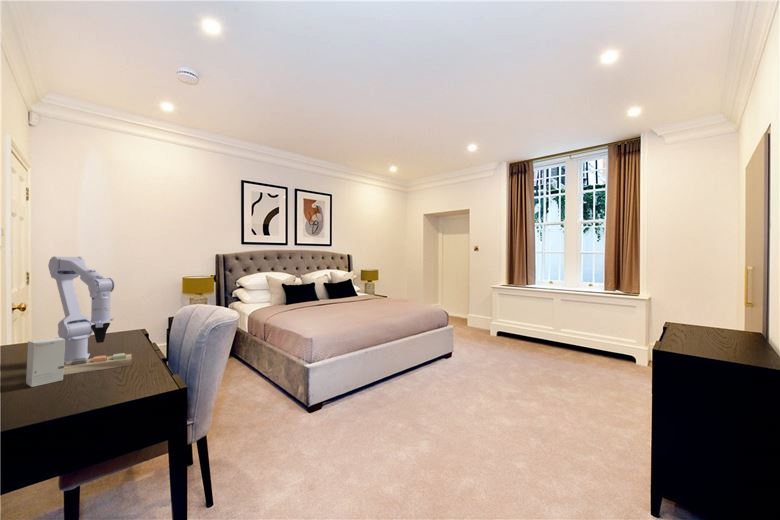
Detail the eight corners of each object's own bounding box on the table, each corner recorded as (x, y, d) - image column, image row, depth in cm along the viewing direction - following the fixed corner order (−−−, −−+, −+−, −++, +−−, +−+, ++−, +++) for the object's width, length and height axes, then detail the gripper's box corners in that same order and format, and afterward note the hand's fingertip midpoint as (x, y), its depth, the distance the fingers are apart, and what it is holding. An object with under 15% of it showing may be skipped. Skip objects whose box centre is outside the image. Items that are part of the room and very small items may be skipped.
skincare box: (31, 387, 110) (31, 343, 110) (25, 383, 113) (26, 340, 113) (65, 380, 117) (65, 338, 117) (58, 376, 120) (59, 335, 120)
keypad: (66, 368, 129) (66, 361, 129) (131, 359, 141) (131, 353, 141) (62, 375, 122) (62, 368, 122) (131, 365, 134) (131, 359, 134)
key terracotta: (93, 362, 132) (94, 356, 131) (105, 360, 134) (105, 355, 134) (92, 364, 129) (93, 359, 129) (105, 363, 131) (105, 357, 131)
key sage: (113, 359, 135) (113, 354, 135) (124, 358, 137) (124, 352, 137) (112, 362, 132) (113, 356, 132) (124, 360, 135) (124, 355, 135)
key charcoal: (73, 364, 128) (73, 359, 128) (85, 363, 130) (85, 357, 130) (71, 367, 125) (71, 361, 125) (84, 365, 127) (84, 360, 127)
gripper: (113, 310, 129) (112, 344, 129) (114, 305, 141) (114, 336, 141) (88, 311, 125) (88, 347, 125) (92, 306, 136) (91, 339, 137)
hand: (100, 342), depth 133 cm, fingers closed
